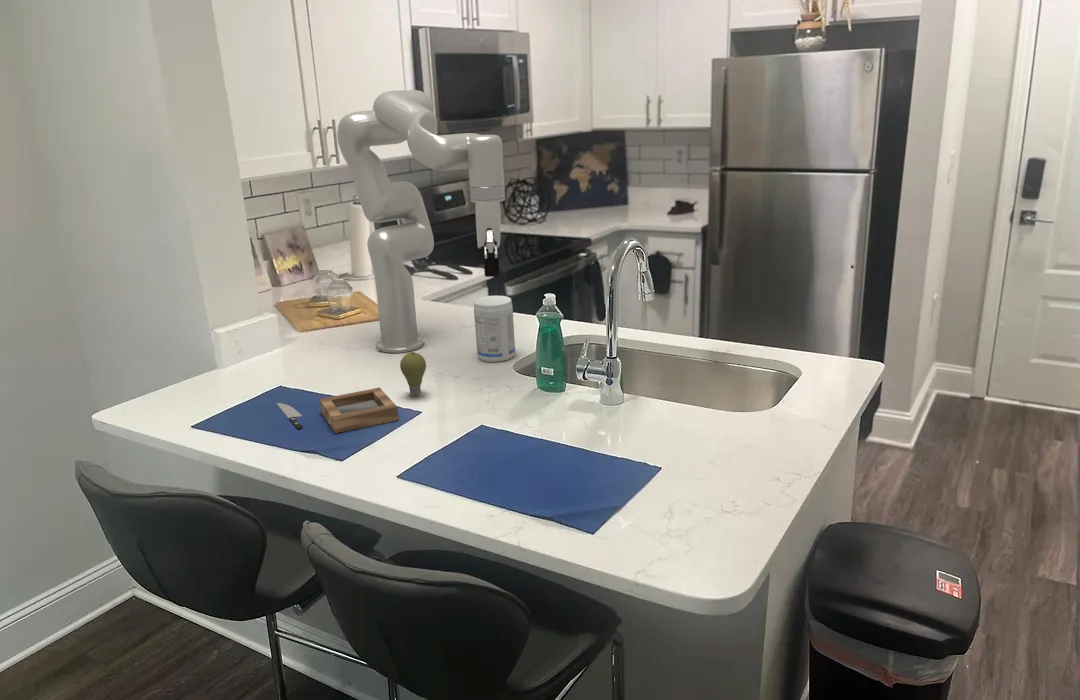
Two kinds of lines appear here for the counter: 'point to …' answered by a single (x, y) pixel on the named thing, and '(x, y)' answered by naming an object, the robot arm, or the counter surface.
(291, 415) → the chef's knife
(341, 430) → the cradle
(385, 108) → the robot arm
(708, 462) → the counter surface
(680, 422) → the counter surface
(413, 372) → the light bulb
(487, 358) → the supplement tub
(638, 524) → the counter surface
